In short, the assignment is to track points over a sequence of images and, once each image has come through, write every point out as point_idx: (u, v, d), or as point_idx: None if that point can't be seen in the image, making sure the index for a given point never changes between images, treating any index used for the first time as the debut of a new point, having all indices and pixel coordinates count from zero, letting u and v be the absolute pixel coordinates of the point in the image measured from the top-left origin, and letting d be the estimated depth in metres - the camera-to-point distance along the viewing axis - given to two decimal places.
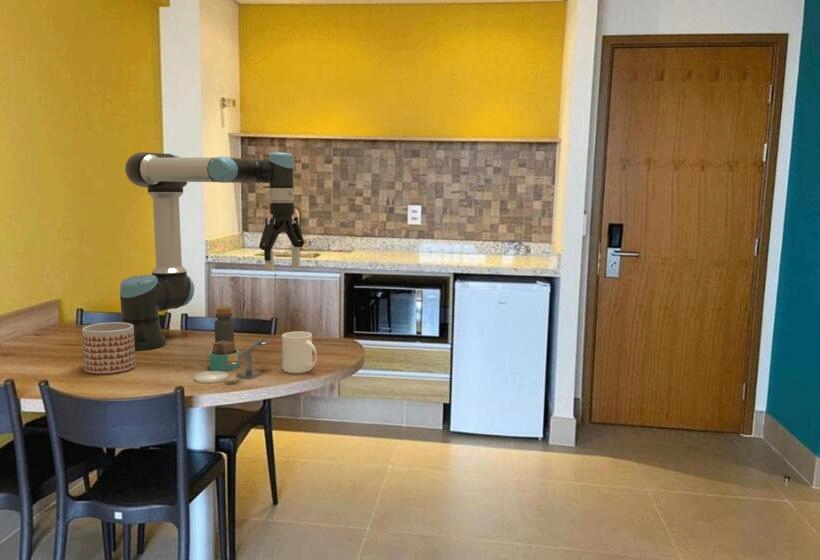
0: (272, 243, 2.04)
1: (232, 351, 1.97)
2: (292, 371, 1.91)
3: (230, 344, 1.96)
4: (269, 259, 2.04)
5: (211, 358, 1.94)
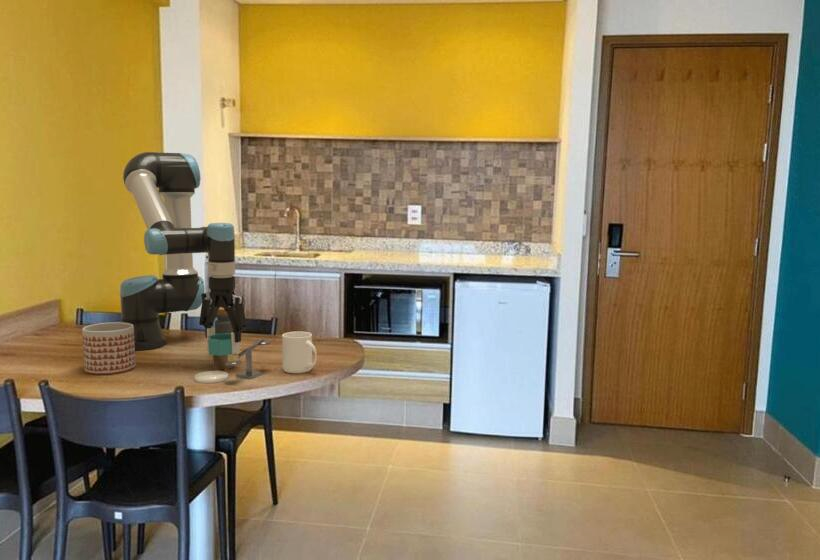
0: (207, 320, 1.97)
1: None
2: (292, 371, 1.91)
3: None
4: None
5: (210, 343, 1.93)
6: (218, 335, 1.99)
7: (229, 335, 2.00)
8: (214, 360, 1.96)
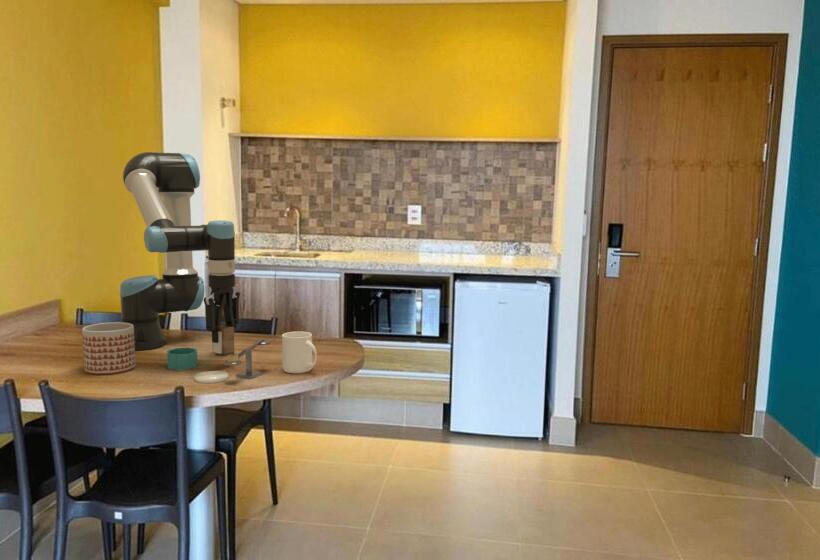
0: (218, 323, 1.92)
1: (231, 336, 1.97)
2: (292, 371, 1.91)
3: (229, 329, 1.95)
4: (217, 341, 1.93)
5: (168, 357, 1.94)
6: (178, 349, 2.00)
7: (189, 349, 2.01)
8: None
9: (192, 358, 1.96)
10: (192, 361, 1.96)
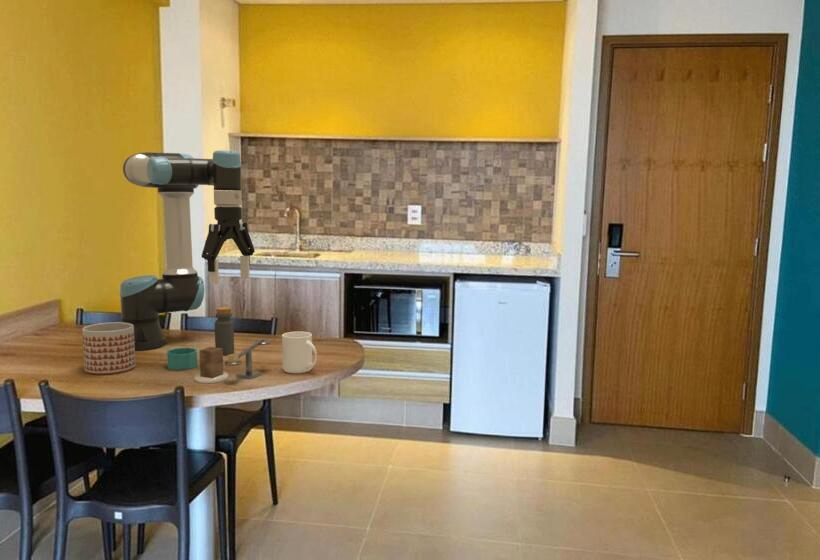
0: (216, 252, 1.82)
1: (220, 358, 1.84)
2: (292, 371, 1.91)
3: (218, 351, 1.83)
4: (213, 270, 1.82)
5: (168, 357, 1.94)
6: (178, 349, 2.00)
7: (189, 349, 2.01)
8: (201, 368, 1.83)
9: (192, 358, 1.96)
10: (192, 361, 1.96)
